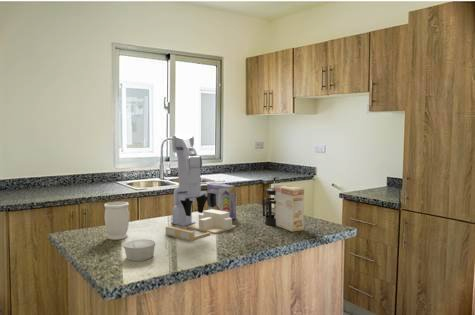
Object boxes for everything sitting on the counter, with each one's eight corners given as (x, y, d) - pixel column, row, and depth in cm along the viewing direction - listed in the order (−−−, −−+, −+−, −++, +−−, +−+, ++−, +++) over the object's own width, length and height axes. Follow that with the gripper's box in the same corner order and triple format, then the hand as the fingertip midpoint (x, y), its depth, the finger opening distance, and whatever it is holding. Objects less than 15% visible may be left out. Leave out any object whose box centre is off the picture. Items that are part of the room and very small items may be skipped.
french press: (288, 222, 194) (288, 176, 192) (279, 226, 187) (279, 178, 185) (268, 219, 201) (268, 175, 199) (258, 223, 193) (258, 177, 192)
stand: (208, 221, 198) (208, 208, 197) (236, 227, 187) (236, 212, 186) (186, 227, 186) (186, 213, 186) (214, 234, 175) (214, 218, 174)
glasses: (185, 228, 184) (185, 221, 184) (210, 234, 174) (210, 226, 174) (165, 234, 175) (165, 226, 175) (190, 240, 165) (190, 232, 164)
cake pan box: (206, 214, 214) (206, 182, 213) (213, 213, 217) (213, 181, 216) (229, 220, 200) (229, 186, 198) (236, 219, 203) (236, 185, 202)
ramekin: (117, 258, 143) (117, 244, 143) (140, 250, 152) (140, 237, 152) (138, 264, 137) (138, 249, 137) (161, 255, 146) (161, 242, 146)
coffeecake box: (304, 230, 181) (304, 188, 179) (291, 232, 178) (292, 189, 176) (285, 223, 194) (285, 184, 193) (273, 224, 191) (273, 185, 189)
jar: (104, 235, 174) (103, 202, 173) (128, 233, 177) (127, 200, 176) (105, 242, 164) (104, 206, 163) (131, 239, 168) (130, 204, 166)
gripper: (188, 186, 163) (189, 218, 164) (211, 182, 174) (212, 212, 175) (176, 184, 167) (177, 216, 168) (200, 181, 178) (200, 210, 179)
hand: (194, 214), depth 172 cm, fingers open, 7 cm apart
